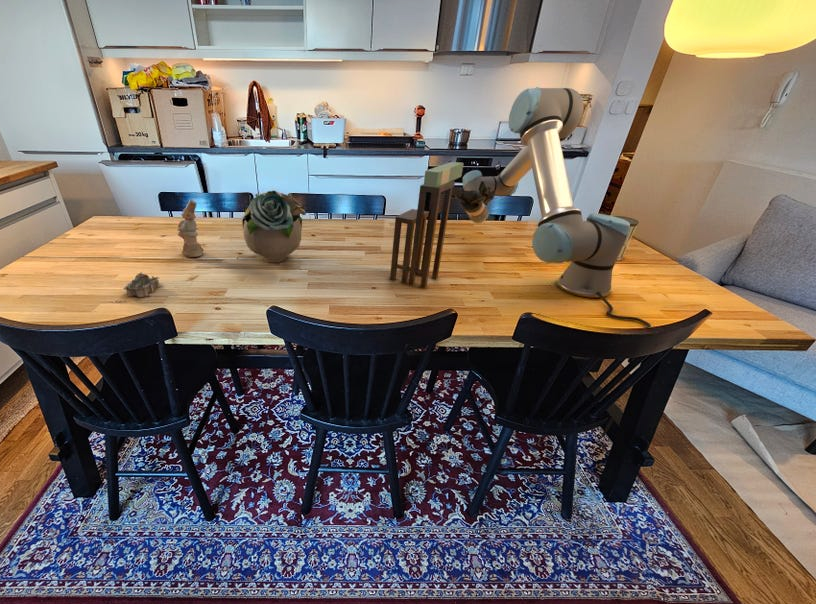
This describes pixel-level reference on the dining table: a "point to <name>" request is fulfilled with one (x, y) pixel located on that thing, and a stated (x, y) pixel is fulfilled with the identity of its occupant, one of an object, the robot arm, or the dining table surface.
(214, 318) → the dining table surface
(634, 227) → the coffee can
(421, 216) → the step rack
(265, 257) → the flower arrangement
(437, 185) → the sage box
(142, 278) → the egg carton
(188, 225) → the figurine
